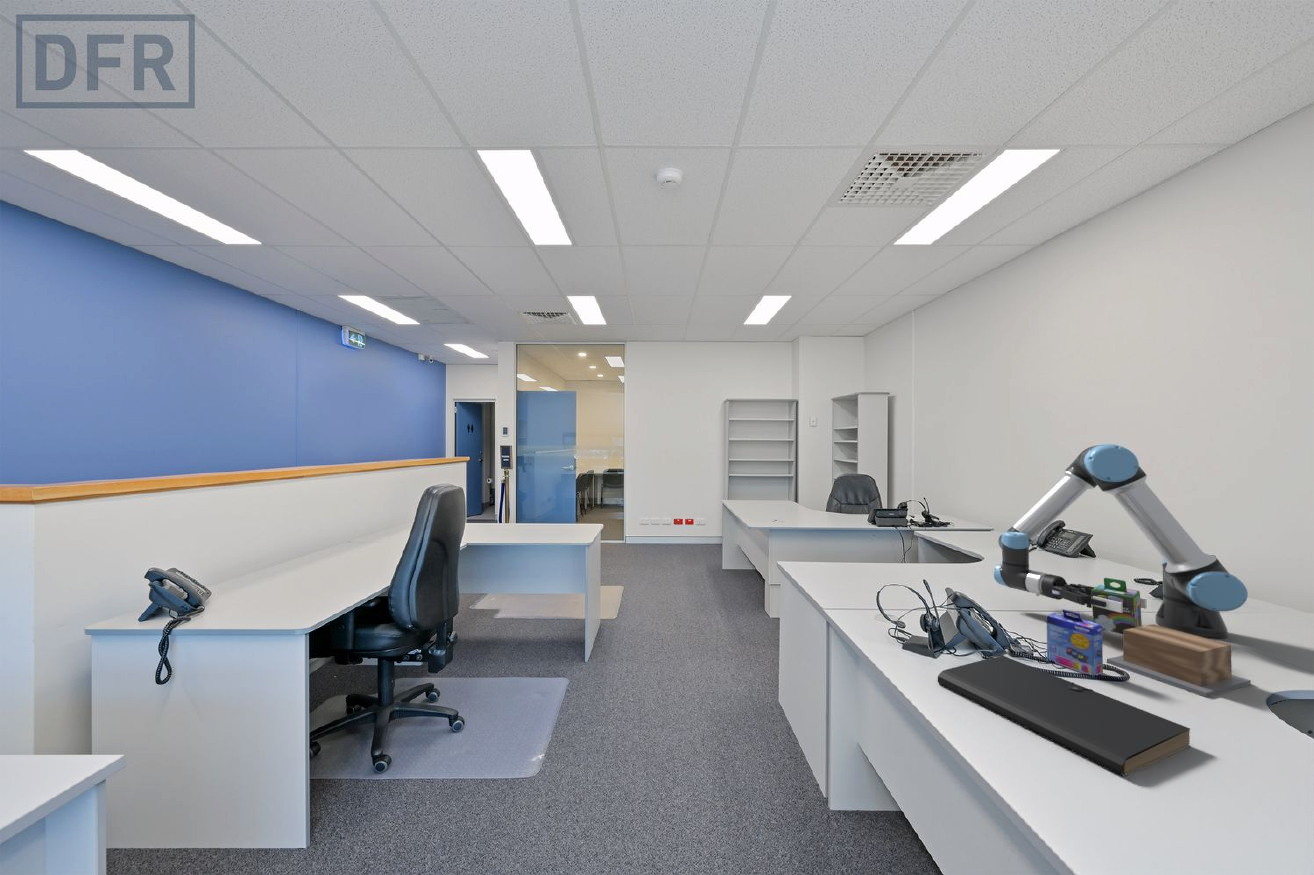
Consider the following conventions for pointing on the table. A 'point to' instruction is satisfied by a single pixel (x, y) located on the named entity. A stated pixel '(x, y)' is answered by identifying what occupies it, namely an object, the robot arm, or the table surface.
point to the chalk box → (1112, 618)
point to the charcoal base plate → (1203, 690)
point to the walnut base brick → (1178, 654)
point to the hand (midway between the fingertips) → (1134, 605)
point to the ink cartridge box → (1075, 643)
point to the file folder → (1069, 713)
